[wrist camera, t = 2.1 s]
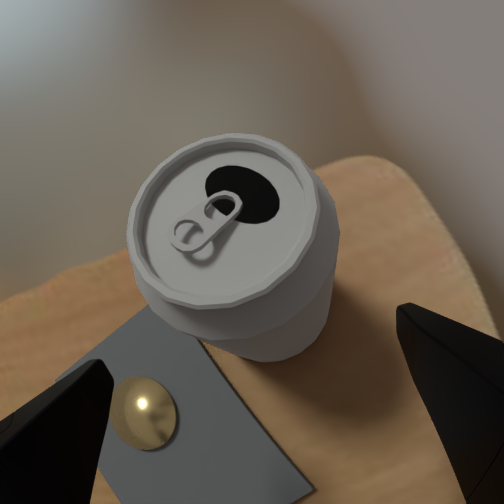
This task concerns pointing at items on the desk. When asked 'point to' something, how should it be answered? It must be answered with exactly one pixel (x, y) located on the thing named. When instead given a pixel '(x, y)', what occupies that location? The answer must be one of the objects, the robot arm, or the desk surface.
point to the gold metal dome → (143, 413)
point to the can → (237, 246)
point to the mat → (190, 427)
